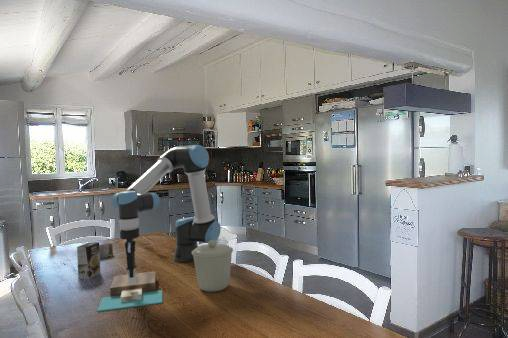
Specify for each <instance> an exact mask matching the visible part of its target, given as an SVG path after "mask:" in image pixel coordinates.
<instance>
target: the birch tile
mask: <svg viewBox="0 0 508 338" xmlns="http://www.w3.org/2000/svg"><path fill="white" fill-rule="evenodd" d="M141 299H142V288H136V289H128V290H122V293H121V302H127V301H134V300H141Z"/></svg>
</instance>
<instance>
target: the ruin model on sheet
mask: <svg viewBox="0 0 508 338" xmlns="http://www.w3.org/2000/svg"><path fill="white" fill-rule="evenodd" d="M113 245H114V244H113V243H111V242H109V243H106V244H101V245H100V244H99V251H100V259H105V258H108V256H110V257H113V256H114V246H113ZM104 257H105V258H104Z"/></svg>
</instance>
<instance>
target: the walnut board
mask: <svg viewBox="0 0 508 338" xmlns="http://www.w3.org/2000/svg"><path fill="white" fill-rule="evenodd" d="M156 274H157V273H156V271H145V272H135V278H136V284H134V285H129V282H128V273H126V274H118V275H115V276H114V277H113V280H112V283H111V285H110V287H109V291H110V292H109V293H110V294H109V296H110V297H112V296H120V295H121V293H122V290H128V289H136V288H142V293H143V292H151V291H156V283H157V278H156V277H157V276H156Z"/></svg>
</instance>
